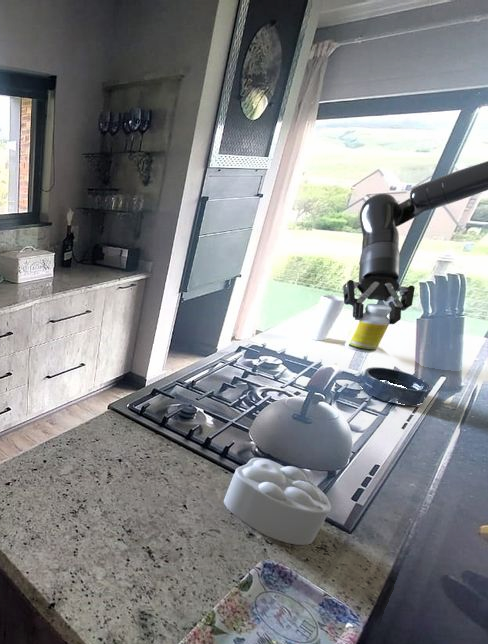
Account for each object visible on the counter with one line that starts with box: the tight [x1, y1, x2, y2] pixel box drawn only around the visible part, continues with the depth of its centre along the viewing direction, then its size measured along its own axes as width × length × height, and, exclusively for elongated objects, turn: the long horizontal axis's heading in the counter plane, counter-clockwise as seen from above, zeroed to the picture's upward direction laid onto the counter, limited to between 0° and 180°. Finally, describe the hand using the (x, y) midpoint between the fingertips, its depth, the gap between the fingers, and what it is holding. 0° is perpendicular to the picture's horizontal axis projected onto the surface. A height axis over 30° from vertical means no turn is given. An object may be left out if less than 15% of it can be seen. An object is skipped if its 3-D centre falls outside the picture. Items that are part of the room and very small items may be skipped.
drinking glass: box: [307, 294, 345, 342], centre depth 141 cm, size 7×7×15 cm
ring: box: [358, 366, 433, 406], centre depth 108 cm, size 13×13×5 cm
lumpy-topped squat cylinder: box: [223, 457, 332, 546], centre depth 68 cm, size 10×13×9 cm
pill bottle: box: [344, 303, 391, 354], centre depth 104 cm, size 6×6×12 cm
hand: (376, 320), depth 102 cm, fingers closed on pill bottle, 6 cm apart
